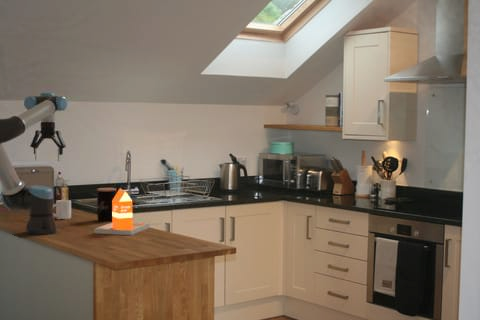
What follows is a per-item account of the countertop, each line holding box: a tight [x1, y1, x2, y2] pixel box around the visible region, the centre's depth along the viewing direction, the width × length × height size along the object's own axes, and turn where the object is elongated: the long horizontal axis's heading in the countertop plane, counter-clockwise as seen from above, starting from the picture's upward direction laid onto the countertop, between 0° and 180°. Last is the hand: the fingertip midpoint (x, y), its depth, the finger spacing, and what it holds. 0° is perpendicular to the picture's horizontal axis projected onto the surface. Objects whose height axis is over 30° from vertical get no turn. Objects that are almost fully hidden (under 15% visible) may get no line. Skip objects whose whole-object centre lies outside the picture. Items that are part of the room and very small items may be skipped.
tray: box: [94, 221, 150, 236], centre depth 360 cm, size 24×20×2 cm
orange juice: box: [111, 188, 133, 230], centre depth 359 cm, size 8×9×20 cm
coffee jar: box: [96, 187, 117, 222], centre depth 392 cm, size 11×11×18 cm
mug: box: [53, 199, 72, 220], centre depth 397 cm, size 12×8×10 cm
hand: (48, 160), depth 377 cm, fingers open, 13 cm apart
